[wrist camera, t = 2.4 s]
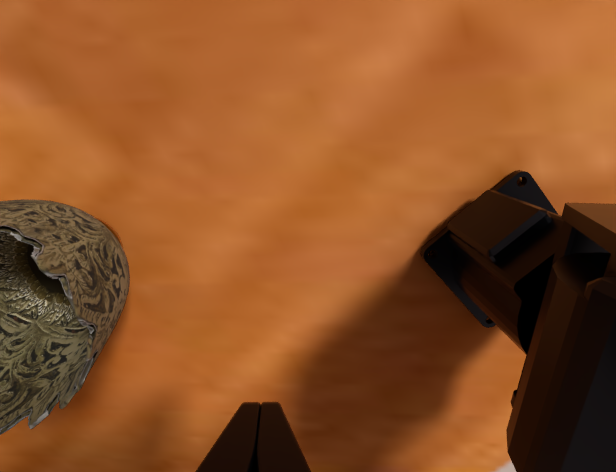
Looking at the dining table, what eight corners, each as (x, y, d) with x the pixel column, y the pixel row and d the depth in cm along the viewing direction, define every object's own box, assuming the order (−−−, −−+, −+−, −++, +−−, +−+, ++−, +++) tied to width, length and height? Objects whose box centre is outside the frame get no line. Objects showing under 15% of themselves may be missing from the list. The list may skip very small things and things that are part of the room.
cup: (-15, 260, 18) (-234, 367, 10) (52, 138, 16) (-150, 159, 9) (122, 334, 20) (22, 471, 12) (195, 231, 18) (130, 316, 10)
